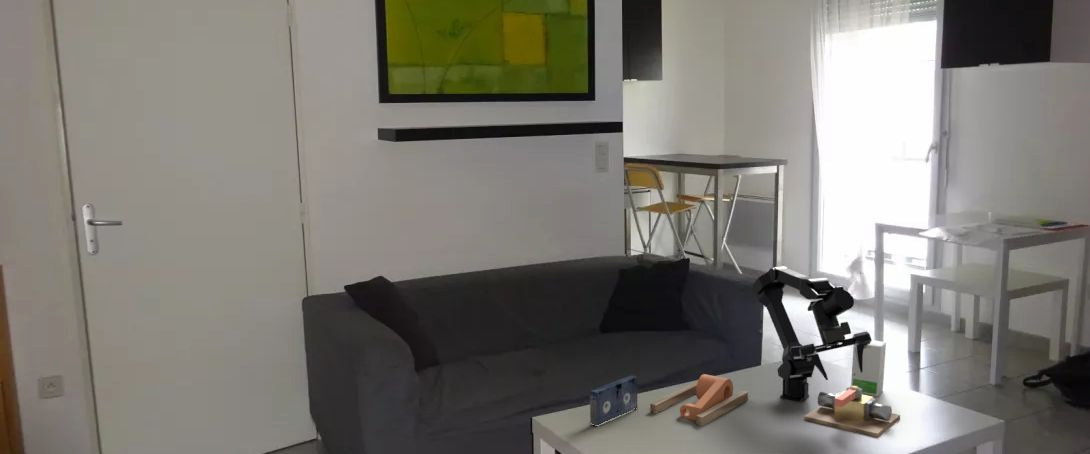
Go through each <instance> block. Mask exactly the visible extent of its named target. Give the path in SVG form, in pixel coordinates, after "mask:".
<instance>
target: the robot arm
mask: <svg viewBox="0 0 1090 454" xmlns="http://www.w3.org/2000/svg"><path fill="white" fill-rule="evenodd" d="M786 286H789V287H792V288H793V289H796V290H798V292H799V295H800V296H802V297H803V298H804V299H806V300H812V301H810V303H809V305H808V307H807V311H808V312H811V311H812V313H813V316H814V317H813V318H814V320H815V324H816V327H817V330H818V333H819V335H820V339H821V342H822V344H820V345H815V344H814V343H809V344H805V345H802V343H800V341H799V339H798V336H797V334H796V332H795V329H794V327H793V324H792V322H791V320H790V317H789V315H788V312H787V310H786V308H785V306H784V303H783V296H784V288H785V287H786ZM752 292H753V293H754V296H755V298H756V300H757V301H758V302H759V303H760V304H761V305H763V306H764V307H765V308H766V309H767V312H768V315H769V317H770V319H771V322H772V324H773V326H774V328H775V331H776V333H777V337H778V339H779V341H780V344H781V347H782V349H783V351H782V357H781V360H782V363H781V365H780V366H779V367H778V368H777V373H778V377H780V378H781V379H782V394H781V393H780V395H779V397H780V398H783V399H786V400H787V399H788V400H792V401H795V402H802V401H803V400H804V399H807V398H809V397H810V394H809V382H808V378H812V377H813V372H814V371H815V367H816V368H817V369H818V371H819V372H820V374H821V375H822V377H823V378H824V379H825V381H829V379H828V376H827V372H826V370H825V367H824V366H823V363H822V360H821V357H820V356H819V353H822V352H827V351H831V350H836V349H839V348H840V349H841V348H845V347H848V346H854V345H855V346H856V347H855V353H856V357H857V362H858V366H859V370H860V372H861V373H862V372H863V350H864V349H865V348H866V347H867V345H868V344H870V343H871V341H872V340H873V339H872V338H871V335H870V334H871V333H869V332H868V331H861V332H858V333H854V334H853V335H852V337H850V338H846V335H851V334H852V331H851V328H850V325H849V322H848V321H843V322H839V319H838V316H840V315H841V314H843V313H845V312H847V311H848V310H850V309H852V308H853V307H854V304H855V299H854V296H852V294H851V293H850V292H849V291H848V290H845V289H844V286H843V285H840V286H834V285H833V284H832V283H831V282H830V280H829V279H828V278H827V277H823V276H821V277H820V276H808V275H805V274H803V273H800V272H798V271H795V270H792V269H789V268H788V267H787V266H785V265H782V266H773V267H771V268H769V269H768V270H767V272H765V273H763V274H762V275H760V276H759V277H758V278H757V279H755V281H754V283H753V284H752Z"/></svg>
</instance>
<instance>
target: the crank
mask: <svg viewBox="0 0 1090 454" xmlns="http://www.w3.org/2000/svg"><path fill="white" fill-rule="evenodd" d="M697 381H698V383H697V387H696V394H695V395H696V397H697V400H698V401H696V403H695V404H694V403H689V402H687V403H685V404H682V405H681V406H680V409H679V414H680V415H681V417H682V418H684V419H688V420H689V419H690V420H693V421H696V415H698V414H700V413H702V412H703V411H705V410H707V409H709V408H711V407H713V406H715V405H716V404H718V403H720V402H722V401H724V400H726V399H727V398H729V397H731V396H733V395H734V394H733V393H734V384H733V381H732V379H730V378H726V377H720V376H716V375H712V374H711V375H709V374H705V373H703V374H702V375H700V377H699V379H698V380H697ZM687 411H688V412H689V413H688V412H687Z"/></svg>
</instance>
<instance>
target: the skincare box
mask: <svg viewBox="0 0 1090 454" xmlns="http://www.w3.org/2000/svg"><path fill="white" fill-rule="evenodd" d="M871 340H872V341H871V343H870V344H868V345H867V347H866V348H865V349H864V350H863V372H862V373H861V372H860V370H859V366H858V362H857V357H856V353H855V347H856V346H855V345H853V346H852V347H853V350H852V366H851V380H850V386H857V387H859V388H861V389H862V395H867V396H872V397H876V398H877V397H879V396H880V395H881V393H882V392H883V389H884V374H885V362H886V351H887V350H886V349H887V341H880V340H877V339H871Z"/></svg>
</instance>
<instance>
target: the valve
mask: <svg viewBox="0 0 1090 454" xmlns="http://www.w3.org/2000/svg"><path fill="white" fill-rule="evenodd" d="M845 391H846V390H844V391H838V392H837V393H835V394H834V393H830V392H825V391H820V392H819V394H818V396H817V405H818V407H819V406H823V407H828V408H832V409H833V410H832V413H834V415H837V416H841V417H846V418H850V419H854V420H859V421H865V420H867V421H869V420H870V419H872V418H877V419H881V420H885V421H889V420H890V418H891V413H893V412H892V410H893V409H892V406H890V405H886V404H882V403H881V404H880V403H877V402H876V398H874V396H872V395H867V394H862V398H859V399H853V400H852V401H850V402H849V403H848V404H846V405H845V406H843V407H838V406H835V398H836V397H838V396H839V395H841V394H842V393H844V392H845Z"/></svg>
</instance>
